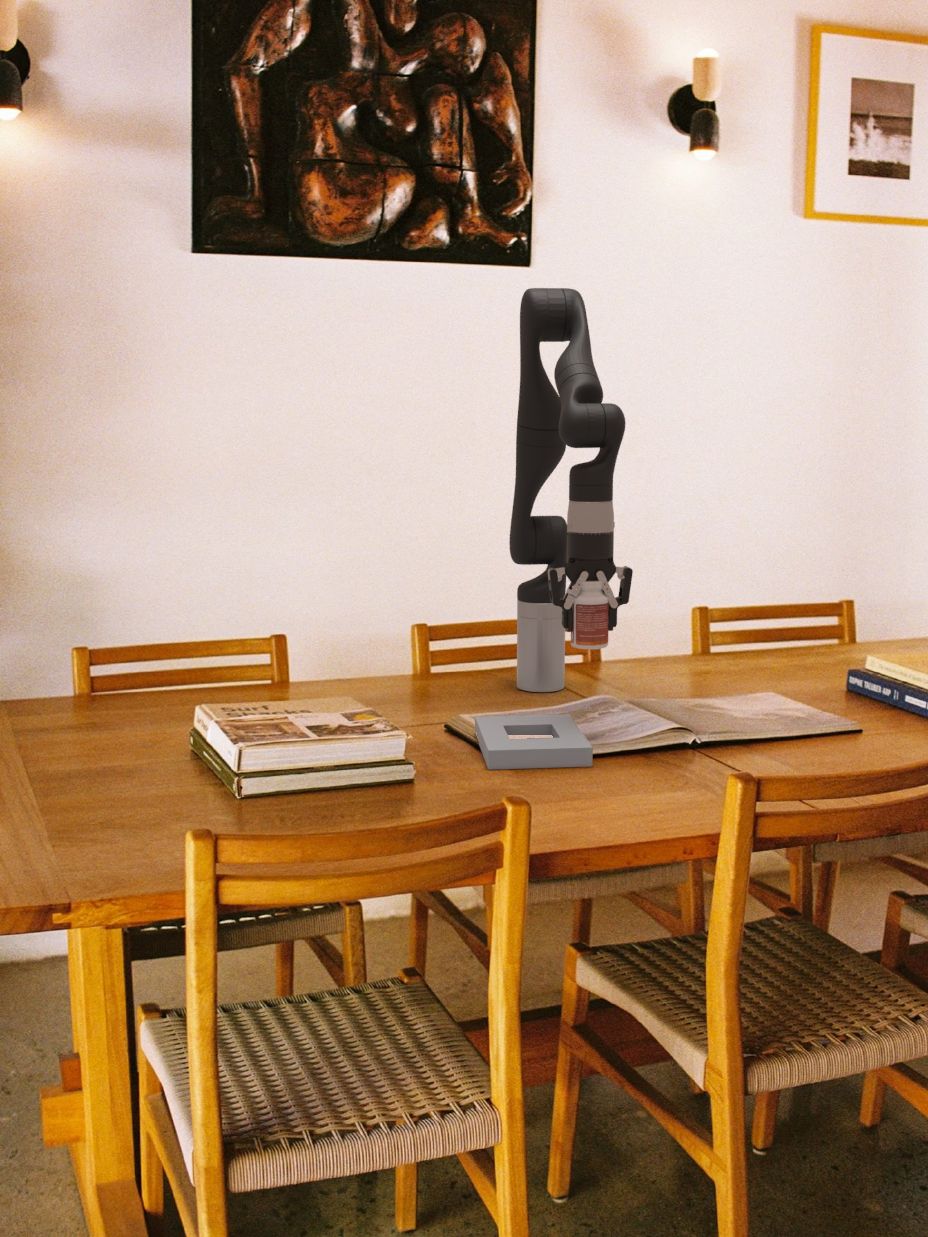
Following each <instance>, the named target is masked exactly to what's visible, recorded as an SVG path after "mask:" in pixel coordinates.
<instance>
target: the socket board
mask: <svg viewBox="0 0 928 1237" xmlns="http://www.w3.org/2000/svg"><path fill="white" fill-rule="evenodd" d="M475 729H476V732H477V736H478V740H479V743H478V746H479V748H480V751H481V754H482V757H483V759H484V761H485V765H486V767H487V770H515V769H516V770H520V769H549V768H550V769H551V768H552V769H554V768H586V767H588V768H589V767H593V749H594V748H593V746H592V744H591V743H590V741H589V740H588V739H587V737H586V736H585V734H584V733H583V731H582V730H581V729H580V727H579V726H578V724H577V723H576V721H575V720H574V719H573V717H572V716H571V714H567V713H566V714H533V715H531V714H530V715H527V714H526V715H493V716H490V715H489V716H487V715H486V716H475V717H474V730H475ZM508 735H552V736H553V738H527V739H509V737H508Z"/></svg>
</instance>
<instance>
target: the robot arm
mask: <svg viewBox="0 0 928 1237" xmlns="http://www.w3.org/2000/svg"><path fill="white" fill-rule="evenodd" d="M522 294H523V295H522V297H521V301H520V308H519V348H520V349H519V355H520V356H519V357H520V360H519V361H520V362H519V364H520V367H519V368H520V369H519V370H520V372H519V373H520V374H519V375H520V376H519V389H518V391H519V393H518V408H517V418H516V434H515V436H516V437H515V441H516V442H515V479H514V481H515V484H514V494H513V501H512V502H513V503H512V511H511V519H510V530H509V543H508V544H509V555H510V557H511V560H512V562H513V563H514V564H516V565H522V566H524V565H525V566H526V565H527V566H528V565H529V566H530V565H532V566H534V565H535V566H536V565H546V568H545V570H544V571H543V572H542V573H540V574H539V575H538V576H536V577H534V578H532V579H529V580H526V581H524V582H522V583H520V584H519V585H518V587H517V593H516V595H517V596H516V598H517V601H516V602H517V604H516V606H517V607H516V610H517V611H516V612H517V613H516V623H517V624H516V627H517V628H516V630H517V631H516V688H517V689H519V690H521V691H526V692H533V693H552V692H558V691H561V690H563V689H565V672H566V671H565V668H566V662H565V661H566V632H567V633H571V632H572V609H571V606H572V604H573V602H574V600H575V598H576V597H577V596H578V594H579V592H580V590H581V588H582V586H583V582H585V581H601V582H602V589H603V593H604V594H605V595H606V597H608V602H609V615H608V621H609V622H608V632H610V631H611V632H612V631H614V628H616V627H617V625H618V608H619V607H620V606H622V605H627V604H628V603H629V601H630V596H631V595H630V594H631V586H632V579H633V574H634V570H633V569H632V568H631V567H629V566H627V565H626V566H625V565H624V566H616V564H615V561H614V546H615V545H614V543H615V542H614V540H615V538H614V537H615V515H614V514H615V512H614V504H613V503H614V502H613V498H614V474H615V473H614V472H615V469H616V468H615V467H616V463H617V460H618V455H619V451H620V447H621V445H622V443H623V439H624V436H625V431H626V417H625V414H624V412H623V410H622V408H620V406H619V405H617V404H615V403H607V402H605V403H603V399H604V391H603V388H602V384H601V381H600V379H599V376H598V373H597V371H596V367H595V362H594V359H593V353H592V344H591V337H590V336H591V335H590V329H589V322H588V321H589V320H588V318H587V316H588V315H587V311H586V310H587V308H586V305H585V301H584V299H583V296H582V294H581V293H580V292H579V291H578V290H576V289H574V288H567V287H566V288H565V287H555V288H554V287H549V288H548V287H531V288H527V289H526V290H525V291H524V293H522ZM543 342H544V343H547V342H548V343H549V342H550V343H559V342H560V343H564V342H569V343H568V345H567V346H566V347H565V349H564V350H563V352H561V355H560V356H559V357H558V359H557V361H556V364H555V367H554V374H553V375H554V382H555V386H556V389H557V390H556V389H555V387H554V386H553V384H552V381H551V380H550V378H549V376H548V374H547V372H546V369H545V367H544V363H543V361H542V358H541V350H540V349H541V348H540V345H541V343H543ZM567 447H569V448H573V449H599V450H598V453H597V455H596V456H595V457H594V458H593V459H591V460H589V461H585V462H581V463H577V464H573V466H571V468H570V470H569V475H568V476H569V478H568V479H569V480H568V483H569V484H568V500H569V501H568V507H567V514H566V515H567V517H566V518H567V519H566V520H565V518H564V517H563V516H561V515H532V511H533V508H534V504H535V501H536V499H537V497H538V495H539V493H540V491H541V489H542V487H543V486H544V484H545V483H546V482H547V480H548V479H549V478H550V476H551V475H552V473H553V472H554V470H555V469H556V468H557V466H558V465H559V463H560V462H561V460H562V459H563V458H564V457H563V456H564V455H565V453H566V449H567ZM615 574H617V578H618V579H619V580H620V581H619V590H618V596H615V595H614V592H613V589H612V588H611V586H610V584H609V583H610V580H612V578H613V577H614V576H615ZM567 578H568V581H569V582H570V583H569V584H568V587H567Z"/></svg>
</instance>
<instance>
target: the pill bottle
mask: <svg viewBox="0 0 928 1237" xmlns="http://www.w3.org/2000/svg"><path fill="white" fill-rule="evenodd" d="M571 609H572V632H570V645H571V647H572V648H574V649H579V650H580V649H581V650H601V649H604V648H606V647H608V646H609V631H608V622H609V621H608V615H609V602H608V597H606V595H605V594H604V593H603V589H602V582H601V581H585V582H583V586H582V588H581V590H580V592H579V594H578V596H577V597H576V598H575V600H574V602H573V604H572V606H571Z"/></svg>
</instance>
